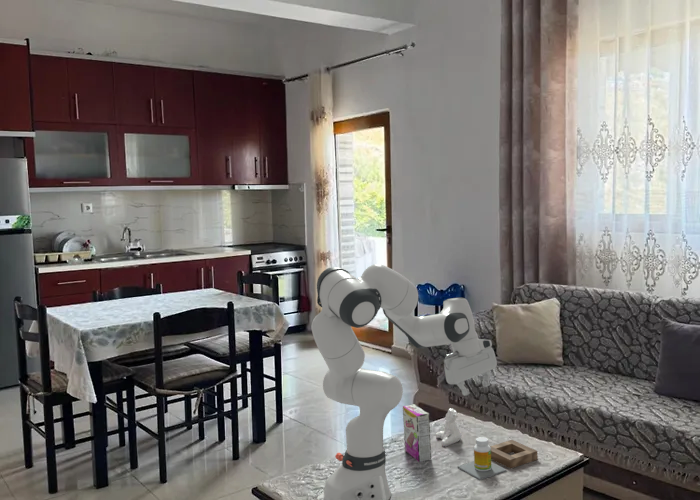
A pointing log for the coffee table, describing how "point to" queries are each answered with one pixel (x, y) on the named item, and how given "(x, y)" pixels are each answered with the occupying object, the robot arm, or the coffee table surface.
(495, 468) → the rubber mat
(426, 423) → the candy bar box
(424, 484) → the coffee table surface
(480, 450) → the supplement bottle
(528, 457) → the pocket block
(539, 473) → the coffee table surface
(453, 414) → the sitting furry creature
